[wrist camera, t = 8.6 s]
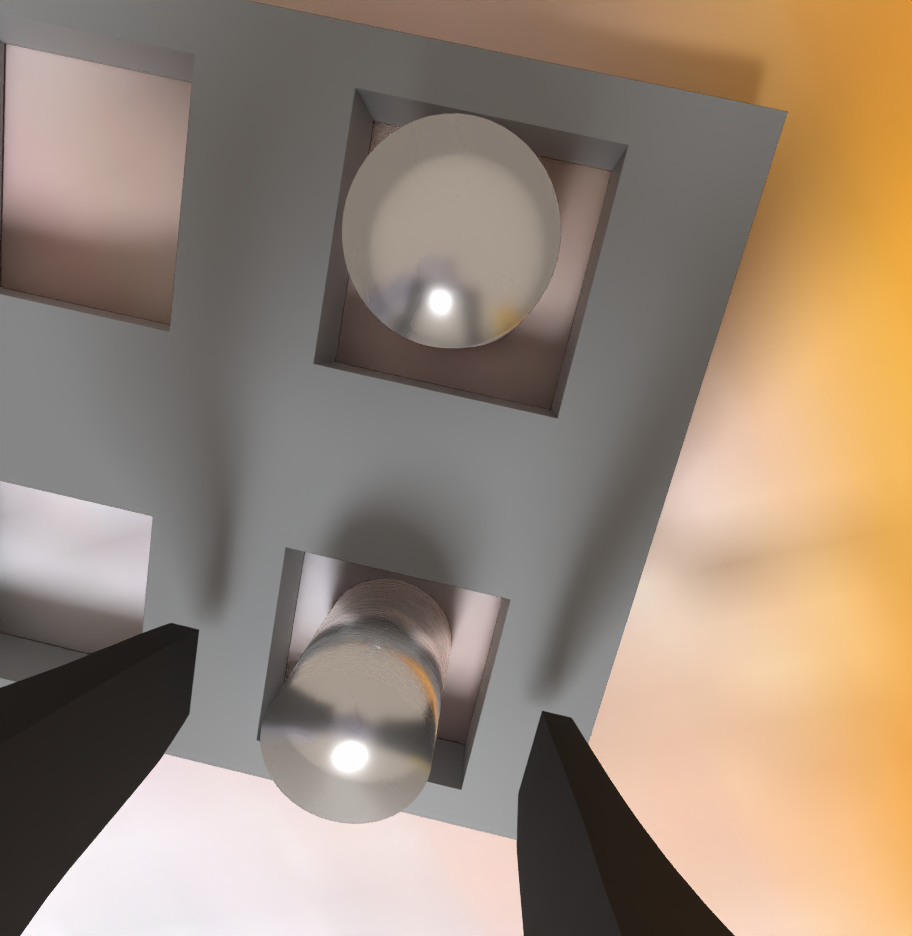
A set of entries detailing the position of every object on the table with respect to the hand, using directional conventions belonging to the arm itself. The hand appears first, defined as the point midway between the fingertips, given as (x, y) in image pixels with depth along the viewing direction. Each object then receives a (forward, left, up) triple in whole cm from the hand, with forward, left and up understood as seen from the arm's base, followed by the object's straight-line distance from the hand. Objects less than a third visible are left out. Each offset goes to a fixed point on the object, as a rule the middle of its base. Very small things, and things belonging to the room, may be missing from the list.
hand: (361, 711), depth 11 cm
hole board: (-4, +5, -3) cm, 7 cm away
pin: (0, +9, -3) cm, 9 cm away
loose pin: (0, 0, -3) cm, 3 cm away
